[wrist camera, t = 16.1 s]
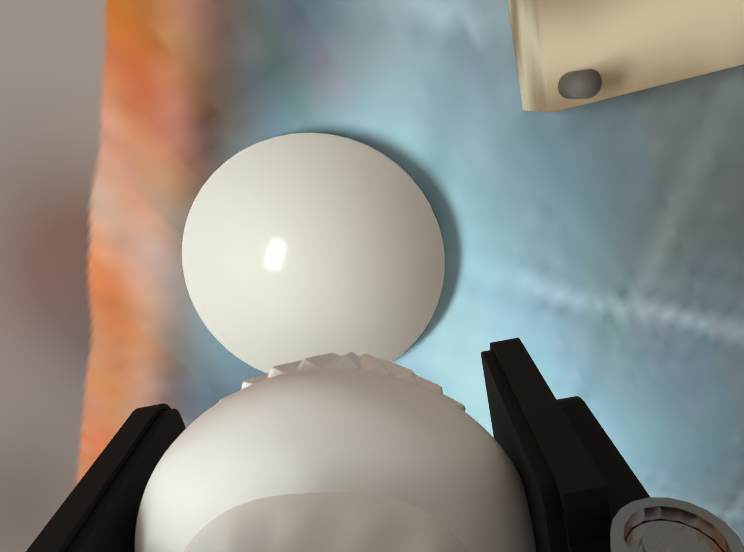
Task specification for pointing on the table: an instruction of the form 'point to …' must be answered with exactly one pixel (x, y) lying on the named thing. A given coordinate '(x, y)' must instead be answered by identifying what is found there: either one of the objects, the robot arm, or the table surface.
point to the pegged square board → (618, 46)
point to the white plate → (312, 252)
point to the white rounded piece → (335, 469)
